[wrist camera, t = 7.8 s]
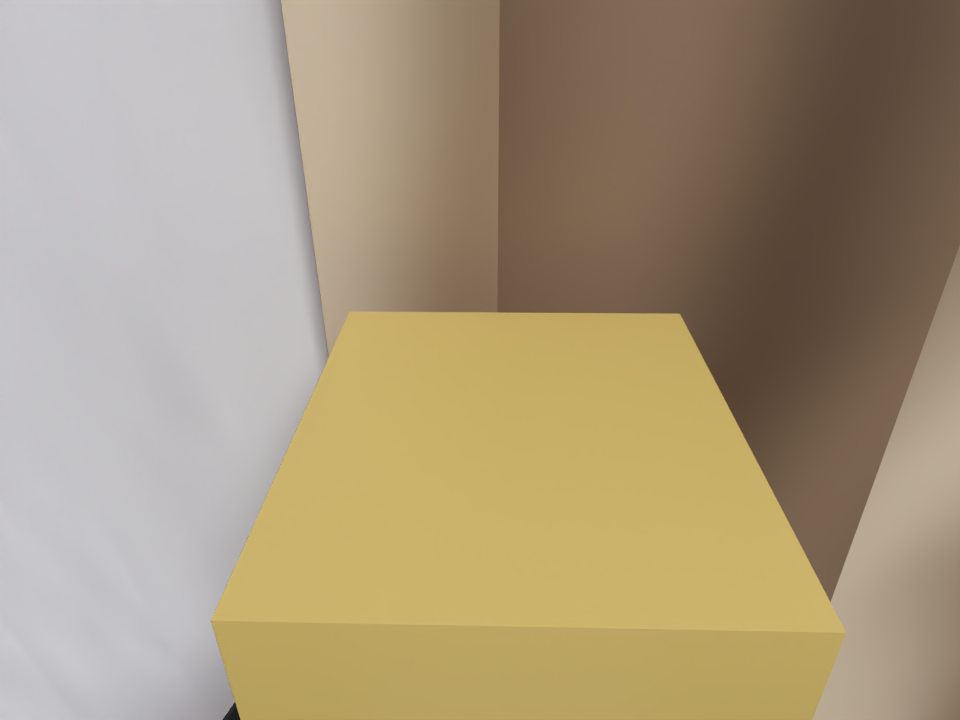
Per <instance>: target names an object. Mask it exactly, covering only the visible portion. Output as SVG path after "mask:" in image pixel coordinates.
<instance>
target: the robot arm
mask: <svg viewBox="0 0 960 720" xmlns="http://www.w3.org/2000/svg"><path fill="white" fill-rule="evenodd" d="M223 720H240V716H239V713H238V710H237V706H236V703H234V704H233V706H232V707H231V709H230V710H229V712H228V713H227V714H226V716H225V717H224V719H223Z"/></svg>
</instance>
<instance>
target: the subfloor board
mask: <svg viewBox="0 0 960 720" xmlns="http://www.w3.org/2000/svg"><path fill="white" fill-rule="evenodd" d="M281 5H282V13H283V20H284V28H285V35H286V42H287V50H288V57H289V65H290V72H291V80H292V87H293V95H294V102H295V109H296V117H297V124H298V132H299V139H300V147H301V154H302V162H303V169H304V176H305V184H306V191H307V199H308V206H309V214H310V221H311V229H312V236H313V243H314V251H315V258H316V266H317V273H318V281H319V288H320V296H321V303H322V310H323V318H324V325H325V333H326V340H327V348H328V355H329V356H330V354H331V351H332V349H333V347H334V345H335V343H336V340H337V338H338V336H339V334H340V331H341V329H342V327H343V325H344V322H345V320H346V318H347V316H348V314H349V312H499V313H656V314H680V315H681V317H682V319H683V321H684V323H685V324H686V326H687V328H688V330H689V332H690V334H691V336H692V338H693V340H694V342H695V344H696V346H697V347H698V349H699V351H700V353H701V355H702V357H703V359H704V361H705V363H706V365H707V367H708V369H709V370H710V372H711V374H712V376H713V378H714V380H715V382H716V384H717V386H718V388H719V390H720V392H721V393H722V395H723V397H724V399H725V401H726V403H727V405H728V407H729V409H730V411H731V413H732V415H733V416H734V418H735V420H736V422H737V424H738V426H739V428H740V430H741V432H742V434H743V436H744V438H745V439H746V441H747V443H748V445H749V447H750V449H751V451H752V453H753V455H754V457H755V459H756V461H757V462H758V464H759V466H760V468H761V470H762V472H763V474H764V476H765V478H766V480H767V482H768V484H769V485H770V487H771V489H772V491H773V493H774V495H775V497H776V499H777V501H778V503H779V505H780V507H781V508H782V510H783V512H784V514H785V516H786V518H787V520H788V522H789V524H790V526H791V528H792V530H793V531H794V533H795V535H796V537H797V539H798V541H799V543H800V545H801V547H802V549H803V551H804V553H805V554H806V556H807V558H808V560H809V562H810V564H811V566H812V568H813V570H814V572H815V574H816V576H817V578H818V579H819V581H820V583H821V585H822V587H823V589H824V591H825V593H826V595H827V597H828V599H829V601H830V602H831V604H832V606H833V608H834V610H835V612H836V614H837V616H838V618H839V620H840V622H841V624H842V625H843V627H844V629H845V631H846V635H845V638H844V640H843V643H842V645H841V648H840V650H839V653H838V655H837V658H836V661H835V663H834V666H833V668H832V671H831V673H830V676H829V678H828V681H827V684H826V686H825V689H824V691H823V694H822V696H821V699H820V701H819V704H818V706H817V709H816V712H815V714H814V717H813V719H812V720H960V0H281Z"/></svg>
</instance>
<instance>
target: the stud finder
mask: <svg viewBox="0 0 960 720" xmlns="http://www.w3.org/2000/svg"><path fill="white" fill-rule="evenodd" d="M211 623H212V626H213V630H214V633H215V636H216V640H217V643H218V646H219V650H220V653H221V656H222V660H223V663H224V666H225V670H226V673H227V676H228V680H229V683H230V686H231V690H232V693H233V696H234V700H235V703H236V706H237V710H238V713H239V716H240V720H812V719H813V717H814V714H815V712H816V709H817V706H818V704H819V701H820V699H821V696H822V694H823V691H824V689H825V686H826V684H827V681H828V678H829V676H830V673H831V671H832V668H833V666H834V663H835V661H836V658H837V655H838V653H839V650H840V648H841V645H842V643H843V640H844V638H845V635H846V631H845V629H844V627H843V625H842V624H841V622H840V620H839V618H838V616H837V614H836V612H835V610H834V608H833V606H832V604H831V602H830V601H829V599H828V597H827V595H826V593H825V591H824V589H823V587H822V585H821V583H820V581H819V579H818V578H817V576H816V574H815V572H814V570H813V568H812V566H811V564H810V562H809V560H808V558H807V556H806V554H805V553H804V551H803V549H802V547H801V545H800V543H799V541H798V539H797V537H796V535H795V533H794V531H793V530H792V528H791V526H790V524H789V522H788V520H787V518H786V516H785V514H784V512H783V510H782V508H781V507H780V505H779V503H778V501H777V499H776V497H775V495H774V493H773V491H772V489H771V487H770V485H769V484H768V482H767V480H766V478H765V476H764V474H763V472H762V470H761V468H760V466H759V464H758V462H757V461H756V459H755V457H754V455H753V453H752V451H751V449H750V447H749V445H748V443H747V441H746V439H745V438H744V436H743V434H742V432H741V430H740V428H739V426H738V424H737V422H736V420H735V418H734V416H733V415H732V413H731V411H730V409H729V407H728V405H727V403H726V401H725V399H724V397H723V395H722V393H721V392H720V390H719V388H718V386H717V384H716V382H715V380H714V378H713V376H712V374H711V372H710V370H709V369H708V367H707V365H706V363H705V361H704V359H703V357H702V355H701V353H700V351H699V349H698V347H697V346H696V344H695V342H694V340H693V338H692V336H691V334H690V332H689V330H688V328H687V326H686V324H685V323H684V321H683V319H682V317H681V315H680V314H656V313H499V312H349V314H348V316H347V318H346V320H345V322H344V325H343V327H342V329H341V331H340V334H339V336H338V338H337V340H336V343H335V345H334V347H333V349H332V351H331V354H330V356H329V358H328V360H327V363H326V365H325V367H324V369H323V372H322V374H321V376H320V378H319V381H318V383H317V385H316V387H315V389H314V392H313V394H312V396H311V398H310V401H309V403H308V405H307V407H306V410H305V412H304V414H303V416H302V418H301V421H300V423H299V425H298V427H297V430H296V432H295V434H294V436H293V439H292V441H291V443H290V445H289V448H288V450H287V452H286V454H285V456H284V459H283V461H282V463H281V465H280V468H279V470H278V472H277V474H276V477H275V479H274V481H273V483H272V485H271V488H270V490H269V492H268V494H267V497H266V499H265V501H264V503H263V506H262V508H261V510H260V512H259V514H258V517H257V519H256V521H255V523H254V526H253V528H252V530H251V532H250V535H249V537H248V539H247V541H246V544H245V546H244V548H243V550H242V552H241V555H240V557H239V559H238V561H237V564H236V566H235V568H234V570H233V573H232V575H231V577H230V579H229V581H228V584H227V586H226V588H225V590H224V593H223V595H222V597H221V599H220V602H219V604H218V606H217V608H216V610H215V613H214V615H213V617H212V619H211Z"/></svg>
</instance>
